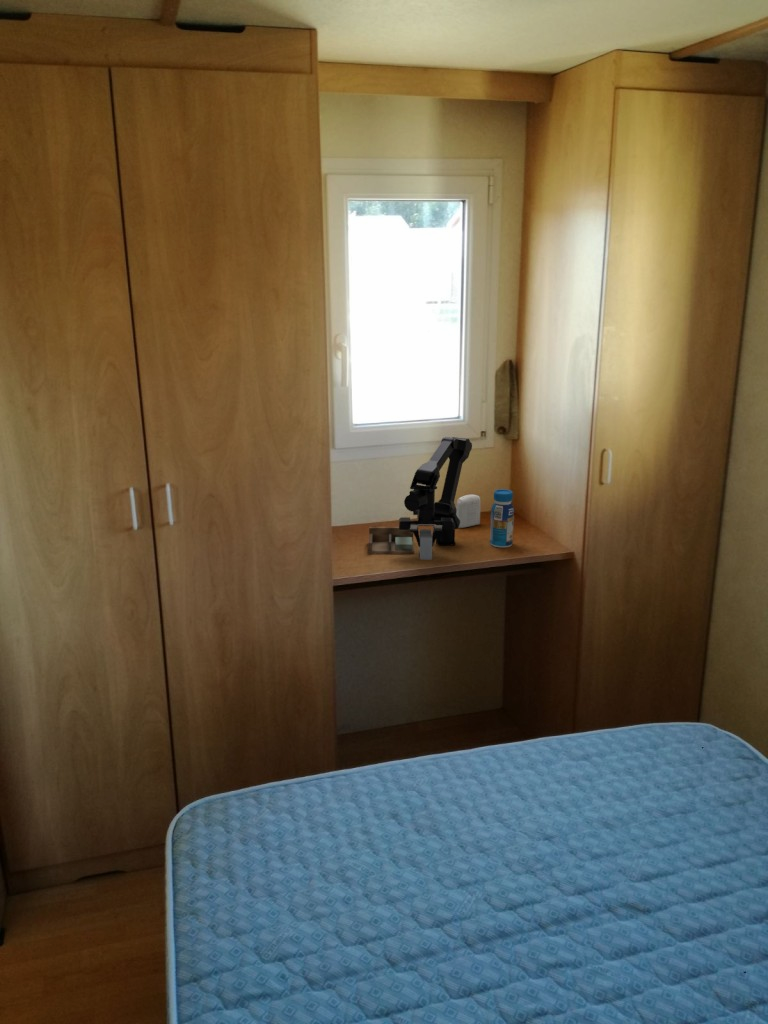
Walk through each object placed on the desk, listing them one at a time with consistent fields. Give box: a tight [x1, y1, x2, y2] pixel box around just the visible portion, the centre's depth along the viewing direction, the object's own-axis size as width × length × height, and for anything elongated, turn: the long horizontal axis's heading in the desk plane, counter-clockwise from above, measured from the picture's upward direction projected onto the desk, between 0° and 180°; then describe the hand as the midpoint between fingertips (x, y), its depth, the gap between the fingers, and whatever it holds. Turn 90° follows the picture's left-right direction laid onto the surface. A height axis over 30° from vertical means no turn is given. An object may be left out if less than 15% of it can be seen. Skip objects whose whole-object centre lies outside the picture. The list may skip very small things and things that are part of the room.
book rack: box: [368, 526, 415, 555], centre depth 281 cm, size 16×12×6 cm
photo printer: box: [455, 494, 482, 529], centre depth 305 cm, size 10×4×12 cm, turn 123°
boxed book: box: [418, 528, 433, 561], centre depth 274 cm, size 4×9×8 cm, turn 0°
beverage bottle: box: [489, 488, 515, 549], centre depth 283 cm, size 8×8×20 cm
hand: (425, 546), depth 274 cm, fingers closed on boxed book, 4 cm apart
